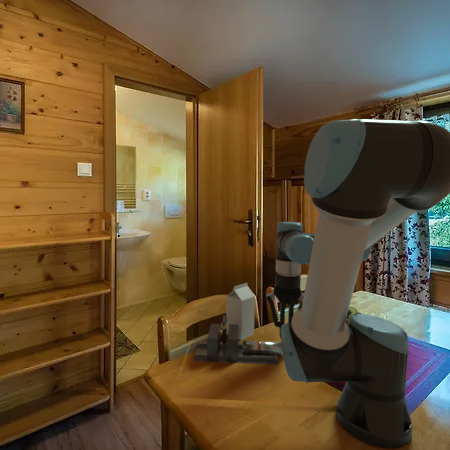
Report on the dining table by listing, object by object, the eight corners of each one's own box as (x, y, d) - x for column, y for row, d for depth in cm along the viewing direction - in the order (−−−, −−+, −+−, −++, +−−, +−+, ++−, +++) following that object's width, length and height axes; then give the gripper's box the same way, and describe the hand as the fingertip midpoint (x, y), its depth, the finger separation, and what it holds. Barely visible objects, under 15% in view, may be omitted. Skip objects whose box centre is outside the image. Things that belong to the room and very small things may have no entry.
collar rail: (278, 368, 92) (279, 332, 91) (193, 364, 94) (193, 329, 93) (274, 348, 104) (275, 316, 103) (199, 345, 105) (199, 314, 104)
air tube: (280, 351, 100) (281, 339, 99) (282, 357, 96) (282, 345, 96) (242, 349, 100) (242, 338, 100) (242, 355, 97) (242, 343, 96)
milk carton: (254, 337, 112) (255, 284, 111) (241, 343, 107) (242, 289, 105) (238, 331, 117) (239, 280, 115) (225, 337, 112) (226, 284, 110)
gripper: (307, 270, 99) (304, 343, 101) (265, 269, 100) (263, 341, 102) (312, 277, 91) (309, 355, 94) (267, 275, 92) (264, 353, 95)
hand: (285, 348), depth 98 cm, fingers closed
